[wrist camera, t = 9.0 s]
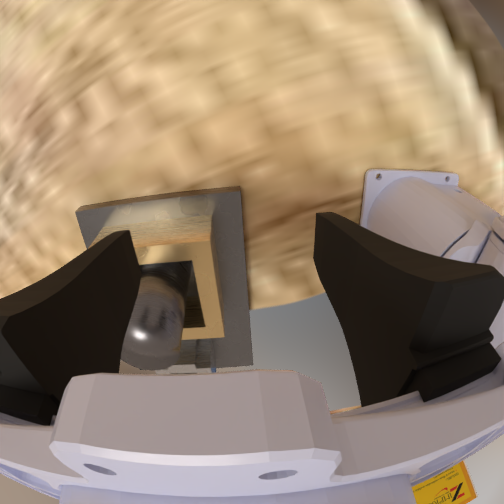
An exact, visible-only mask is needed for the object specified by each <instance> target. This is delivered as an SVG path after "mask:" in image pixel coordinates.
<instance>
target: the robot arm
mask: <svg viewBox="0 0 504 504" xmlns="http://www.w3.org/2000/svg"><path fill="white" fill-rule="evenodd" d="M377 174H380V176H379V178H377V179H376V175H377ZM446 177H447V179H446V180H445V178H446ZM458 181H459V176H458V175H457V174H456V173H451V172H438V171H421V170H397V169H369V170H368V171H367V172H366V174H365V182H364V192H363V202H362V211H361V219H360V225H358V224H356V223H354V222H352V221H351V220H349V219H347V218H345V217H342V216H340V215H338V214H336V213H332V212H326V213H316V227H315V243H314V257H313V259H314V262H315V266H316V269H317V272H318V275H319V278H320V281H321V283H322V285H323V287H324V289H325V291H326V293H327V296H328V298H329V300H330V302H331V304H332V306H333V308H334V310H335V313H336V315H337V317H338V319H339V322H340V324H341V327H342V329H343V332H344V335H345V339H346V342H347V345H348V349H349V352H350V356H351V360H352V363H353V367H354V371H355V376H356V380H357V385H358V390H359V394H360V400H361V406H362V407H361V408H357V409H353V410H349V411H344V412H340V413H335V414H330V412H329V408H328V405H327V401H326V397H325V394H324V390H323V387H322V383H321V382H319V381H316V380H314V379H312V378H310V377H307V376H305V375H302V374H300V373H298V372H295V371H292V370H264V369H255V370H245V371H231V372H216V373H196V374H119V366H120V359H121V352H122V346H123V342H124V338H125V334H126V331H127V328H128V325H129V321H130V318H131V315H132V312H133V309H134V305H135V302H136V299H137V296H138V292H139V286H140V280H141V274H142V273H141V269H140V266H139V263H138V259H137V256H136V252H135V249H134V245H133V241H132V237H131V234H130V230H123V231H115V232H113V233H111V234H109V235H108V236H106V237H104V238H103V239H101V240H100V241H98V242H97V243H96V244H94V245H93V246H91V247H90V248H89V249H87V250H86V251H84V252H83V253H82V254H80V255H79V256H77V257H76V258H74V259H73V260H71V261H70V262H69V263H67V264H66V265H64V266H63V267H61V268H60V269H58V270H57V271H55V272H53V273H52V274H50V275H48V276H47V277H45V278H43V279H42V280H40V281H38V282H36V283H34V284H32V285H30V286H28V287H26V288H24V289H22V290H20V291H18V292H16V293H13V294H11V295H9V296H6V297H4V298H1V299H0V473H1V474H3V475H4V476H6V477H8V478H10V479H12V480H15V481H17V482H19V483H21V484H23V485H25V486H27V487H29V488H32V489H34V490H36V491H38V492H41V493H43V494H45V495H48V496H51V497H53V498H56V499H58V500H60V501H59V504H417V503H416V500H415V497H414V493H413V490H412V487H413V486H415V485H417V484H420V483H422V482H424V481H426V480H428V479H430V478H432V477H434V476H436V475H438V474H440V473H442V472H444V471H445V470H447V469H449V468H451V467H453V466H454V465H456V464H458V463H460V462H461V461H463V460H465V459H466V458H468V457H469V456H471V455H473V454H474V453H476V452H477V451H479V450H480V449H482V448H484V447H485V446H487V445H488V444H490V443H491V442H492V441H494V440H495V439H497V438H498V437H500V436H501V435H502V434H504V216H501V215H500V214H499V213H498V212H496V211H495V210H493V209H492V208H490V207H489V206H488V205H486V204H485V203H483V202H482V201H480V200H479V199H477V198H476V197H474V196H473V195H471V194H469V193H468V192H466V191H465V190H463V189H461V188H460V187H458Z"/></svg>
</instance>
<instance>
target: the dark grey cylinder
mask: <svg viewBox="0 0 504 504" xmlns="http://www.w3.org/2000/svg"><path fill="white" fill-rule="evenodd" d="M139 266H140V269H141V273H142V274H141V280H140V286H139V292H138V296H137V299H136V302H135V305H134V309H133V312H132V315H131V318H130V321H129V325H128V328H127V331H126V334H125V338H124V342H123V346H122V352H121V360H123V361H124V362H126V363H128V364H130V365H132V366H134V367H137V368H140V369H145V370H163V369H166V368H169V367H171V366H173V365H174V364H175V363H176V362H177V361H178V359H179V356H180V349H181V340H182V332H183V324H184V316H185V309H186V301H187V294H188V287H189V280H190V274H191V263H190V260H189V261H177V262H166V263H154V264H142V265H139Z"/></svg>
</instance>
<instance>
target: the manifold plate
mask: <svg viewBox="0 0 504 504" xmlns="http://www.w3.org/2000/svg"><path fill="white" fill-rule="evenodd" d="M75 213H76V216H77V220H78V223H79V226H80V229H81V233H82V236H83V239H84V242H85V245H86V248H87V249H89V248H90V247H91V246H93V245H94V244H96V243H97V242H98V241H100V240H101V239H103V238H104V237H106V236H108V235H109V234H111V233H113V232H115V231H123V230H130V234H131V237H132V241H133V245H134V249H135V252H136V256H137V259H138V263H139V265H142V264H154V263H166V262H177V261H189V260H190V263H191V274H190V280H189V287H188V294H187V301H186V309H185V316H184V324H183V332H182V340H181V349H180V356H179V359H178V361H177V362H176V363H175V364H174V365H173V366H171V367H169V368H166V369H163V370H155V371H156V373H157V374H196V373H216V368H223V367H237V366H249V365H253V357H252V343H251V331H250V317H249V303H248V290H247V276H246V263H245V249H244V235H243V221H242V206H241V191H240V186H237V187H225V188H214V189H204V190H194V191H185V192H176V193H168V194H160V195H152V196H145V197H137V198H130V199H123V200H117V201H110V202H104V203H98V204H92V205H86V206H81V207H80V208H79V209H78V210H77V211H76V212H75ZM139 369H140V368H139ZM140 370H145V369H140Z"/></svg>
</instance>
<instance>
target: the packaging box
mask: <svg viewBox="0 0 504 504" xmlns="http://www.w3.org/2000/svg"><path fill="white" fill-rule="evenodd" d="M412 490H413V493H414V497H415V500H416V503H417V504H466V503H468V502H470V501H471V500H473V499H475V498H476V497H477V492H476V490H475V487H474V484H473V482H472V479H471V476H470V474H469V471H468V468H467V466H466V463H465V461H464V460H463V461H461V462H460V463H458V464H456V465H454V466H453V467H451V468H449V469H447V470H445V471H444V472H442V473H440V474H438V475H436V476H434V477H432V478H430V479H428V480H426V481H424V482H422V483H420V484H417V485H415V486H413V487H412Z"/></svg>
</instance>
